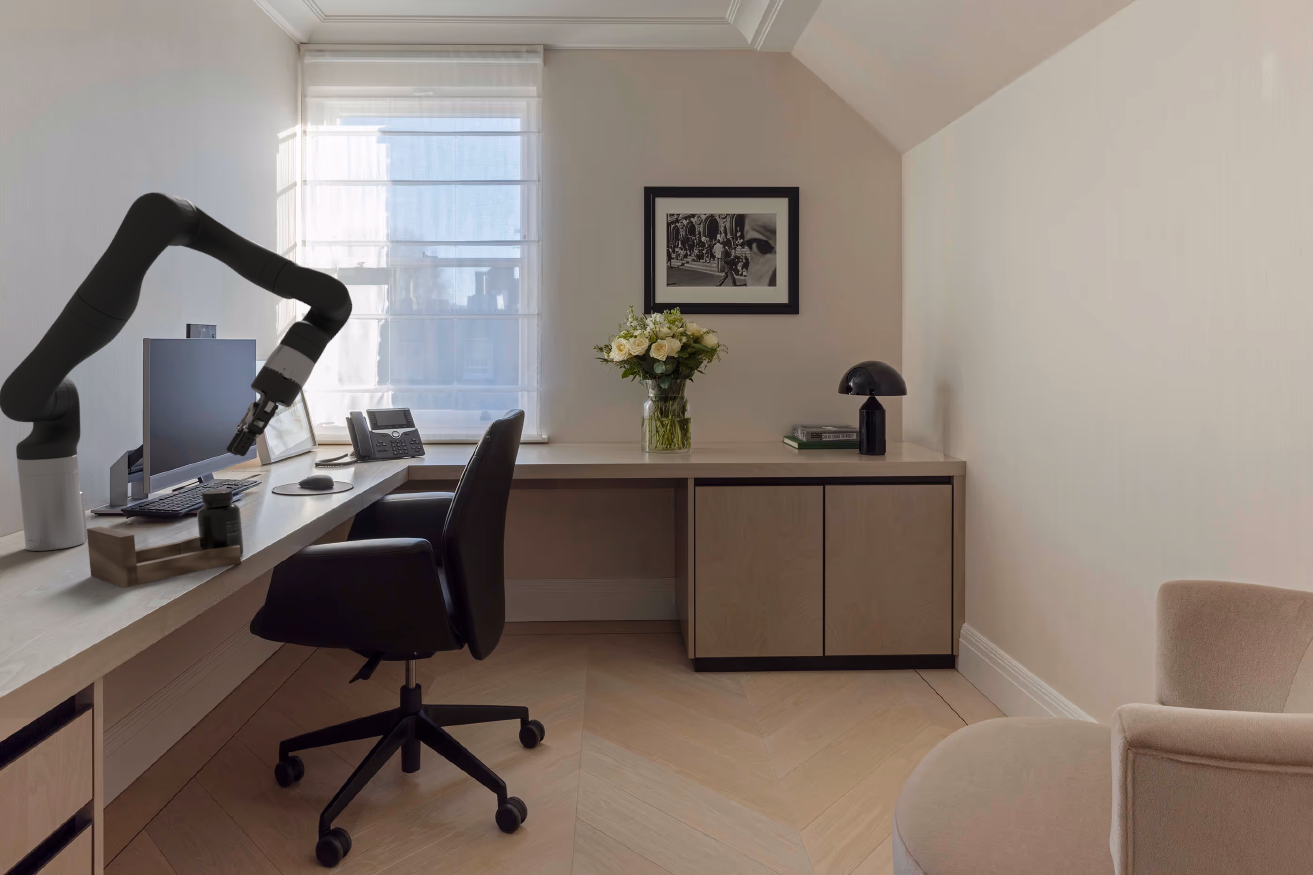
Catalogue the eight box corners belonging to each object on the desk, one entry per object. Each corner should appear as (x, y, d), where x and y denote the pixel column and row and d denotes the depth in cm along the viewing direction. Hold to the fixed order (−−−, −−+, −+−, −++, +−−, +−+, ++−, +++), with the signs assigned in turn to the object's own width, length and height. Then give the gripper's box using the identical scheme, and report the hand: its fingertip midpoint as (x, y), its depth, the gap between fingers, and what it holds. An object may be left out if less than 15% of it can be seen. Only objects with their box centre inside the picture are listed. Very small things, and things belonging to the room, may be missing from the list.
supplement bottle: (239, 550, 152) (235, 486, 151) (247, 557, 146) (243, 491, 145) (197, 556, 148) (192, 490, 146) (204, 564, 142) (199, 495, 141)
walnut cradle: (199, 551, 151) (196, 509, 150) (243, 562, 143) (240, 517, 142) (86, 574, 136) (82, 527, 135) (129, 588, 128) (124, 538, 127)
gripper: (257, 367, 153) (208, 443, 148) (270, 361, 141) (217, 443, 136) (295, 388, 156) (248, 463, 152) (311, 384, 145) (260, 465, 140)
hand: (234, 453), depth 144 cm, fingers open, 8 cm apart
